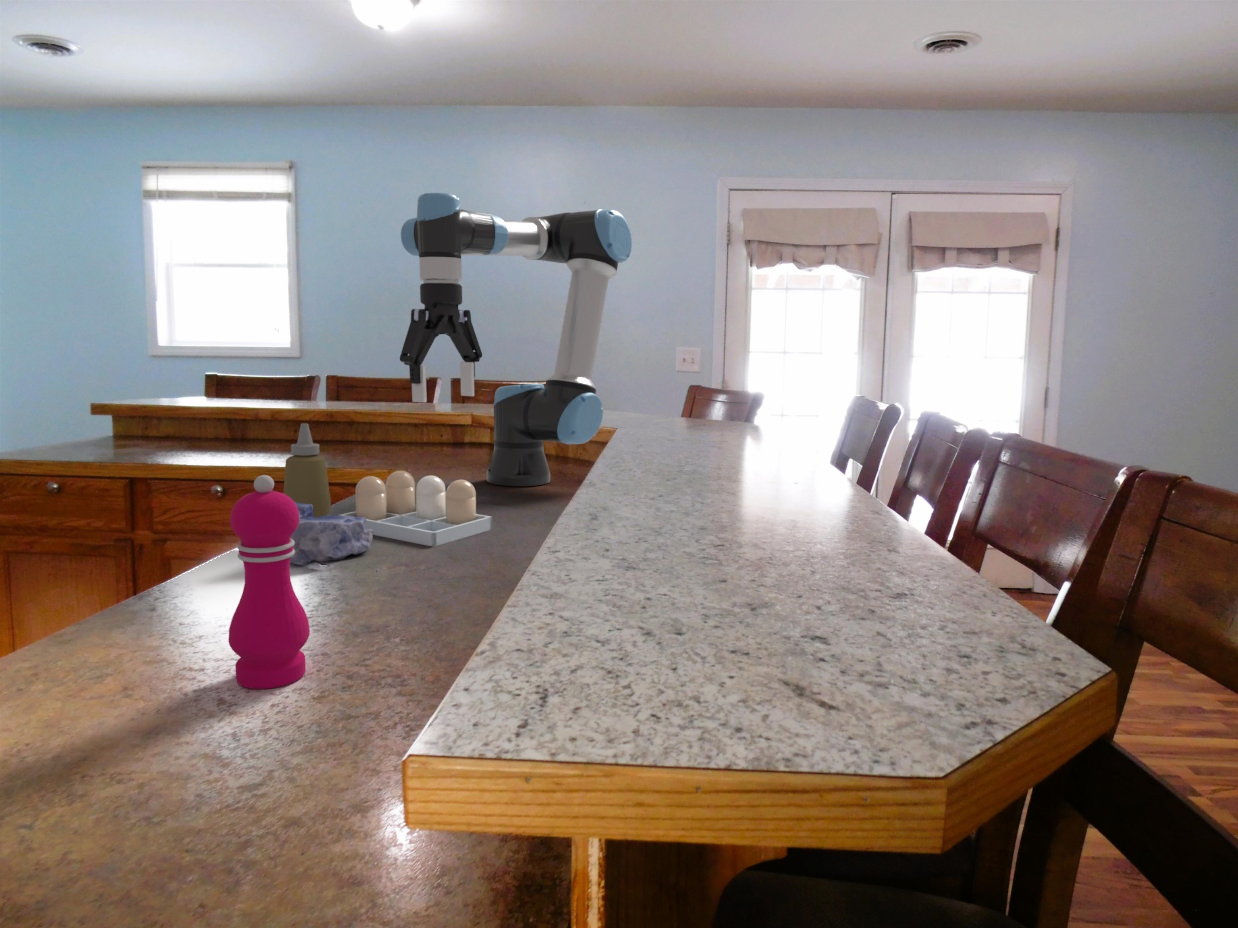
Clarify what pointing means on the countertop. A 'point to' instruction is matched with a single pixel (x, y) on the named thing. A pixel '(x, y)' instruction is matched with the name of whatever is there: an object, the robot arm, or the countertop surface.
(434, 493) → the egg
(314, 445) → the squeeze bottle
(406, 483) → the brown egg
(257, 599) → the pepper mill
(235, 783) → the countertop surface
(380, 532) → the carton
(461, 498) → the brown egg
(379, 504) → the brown egg
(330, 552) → the mineral
